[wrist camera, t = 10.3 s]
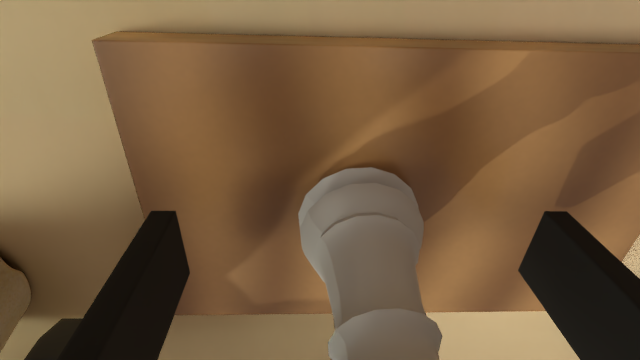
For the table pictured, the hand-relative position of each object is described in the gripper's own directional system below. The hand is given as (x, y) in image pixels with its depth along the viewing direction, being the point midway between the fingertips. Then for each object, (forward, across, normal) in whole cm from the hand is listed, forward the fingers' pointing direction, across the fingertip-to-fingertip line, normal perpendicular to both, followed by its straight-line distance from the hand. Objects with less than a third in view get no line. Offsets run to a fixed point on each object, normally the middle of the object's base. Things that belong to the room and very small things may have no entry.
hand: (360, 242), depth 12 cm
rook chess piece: (+2, 0, 0) cm, 2 cm away
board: (+3, -2, 0) cm, 4 cm away
